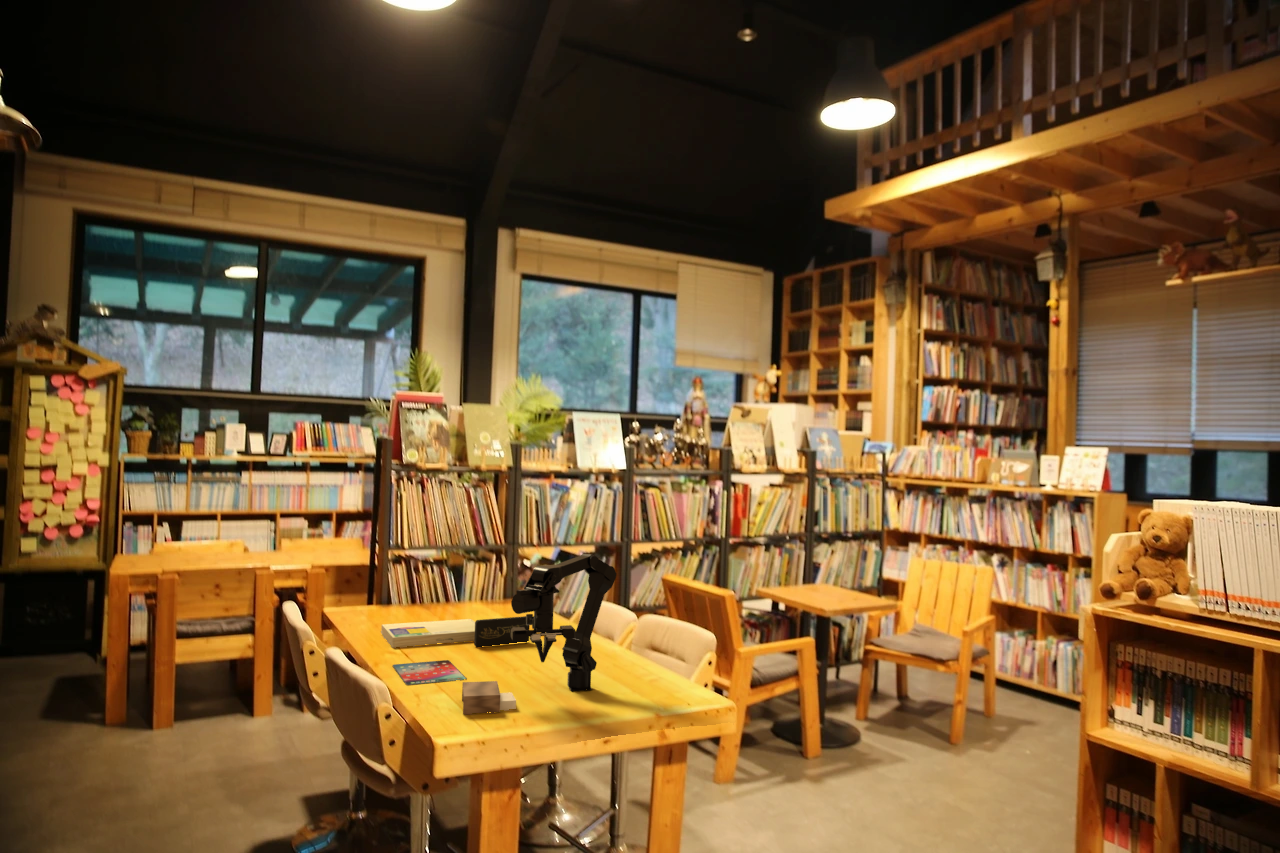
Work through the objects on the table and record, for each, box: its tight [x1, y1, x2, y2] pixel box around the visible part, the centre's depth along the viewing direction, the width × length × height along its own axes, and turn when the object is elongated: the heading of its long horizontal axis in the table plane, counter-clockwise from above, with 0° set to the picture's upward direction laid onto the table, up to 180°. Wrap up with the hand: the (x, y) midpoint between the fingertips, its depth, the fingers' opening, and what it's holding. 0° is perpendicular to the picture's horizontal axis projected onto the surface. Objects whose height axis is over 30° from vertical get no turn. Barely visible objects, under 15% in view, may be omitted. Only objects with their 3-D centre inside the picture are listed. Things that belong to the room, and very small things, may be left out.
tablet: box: [392, 659, 467, 686], centre depth 269 cm, size 19×25×1 cm
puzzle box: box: [380, 618, 476, 649], centre depth 318 cm, size 36×5×24 cm
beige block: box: [500, 691, 517, 711], centre depth 235 cm, size 10×8×3 cm
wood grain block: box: [461, 680, 501, 715], centre depth 235 cm, size 10×14×5 cm
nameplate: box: [473, 615, 531, 648], centre depth 310 cm, size 21×2×10 cm, turn 119°
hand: (542, 662), depth 244 cm, fingers closed
